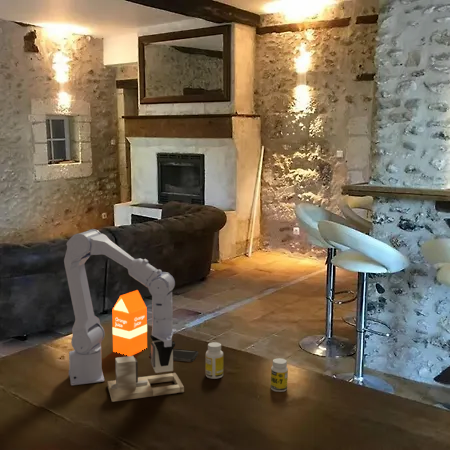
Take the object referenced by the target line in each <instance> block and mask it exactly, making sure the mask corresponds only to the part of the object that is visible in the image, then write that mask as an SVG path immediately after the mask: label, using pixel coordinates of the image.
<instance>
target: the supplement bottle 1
mask: <svg viewBox="0 0 450 450" xmlns="http://www.w3.org/2000/svg"><path fill="white" fill-rule="evenodd" d="M205 376H206V377H207V378H208V379H214V380H215V379H217V380H218V379H220V378H222V377H223V376H224V351H222V344H221V343H220V342H216V341H213V342H209V343H208V344H207V350H206V352H205Z"/></svg>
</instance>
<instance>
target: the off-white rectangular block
mask: <svg viewBox="0 0 450 450" xmlns="http://www.w3.org/2000/svg"><path fill="white" fill-rule="evenodd" d="M154 342H161V340H156V341H152V342H151V343H150V353H151V358H150V364H151V366H152V368H153V371H154V373H155V374H158V373H159V374H160V373H167V372H173V371H174V360H173V350H172V352H171V356H170V360H169V364H168V366H161V365H160V361H159V355H158V351H157V348H156V346H155V344H154Z"/></svg>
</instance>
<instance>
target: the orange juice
mask: <svg viewBox="0 0 450 450" xmlns="http://www.w3.org/2000/svg"><path fill="white" fill-rule="evenodd" d="M147 308H148V307H147V306H146V303H145V301H144V300H143V298H142V295H141V293H140V292H139V290H138V289H136V290H133V291H129V292H127V293H125V294H121V295H119V298H118V299H117V301H116V303H115V304H114V307H112V312H111V313H112V318H111V319H112V352H113V353H116V352H117V354H119V353H120V354H121V355H123V354H124V355H123V356H126V355H127V356H134V355H136V354H138V353H141V352H143V351H144V349H145V350H146V348H147V349H148V309H147ZM142 350H143V351H142ZM127 356H126V357H127Z"/></svg>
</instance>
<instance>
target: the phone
mask: <svg viewBox="0 0 450 450" xmlns="http://www.w3.org/2000/svg"><path fill="white" fill-rule="evenodd" d="M198 355H199V351H197V350H191V349H182V348H173V361H177V362H187V363H188V362H189V363H191V362H194V361H195V360H196V358H197V357H198ZM149 358H150V359H151V352H150V353H149Z"/></svg>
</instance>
